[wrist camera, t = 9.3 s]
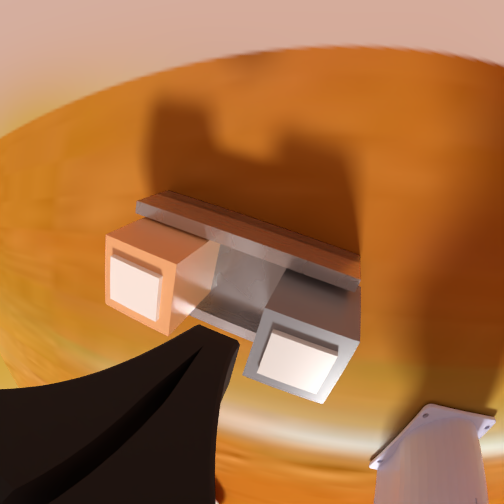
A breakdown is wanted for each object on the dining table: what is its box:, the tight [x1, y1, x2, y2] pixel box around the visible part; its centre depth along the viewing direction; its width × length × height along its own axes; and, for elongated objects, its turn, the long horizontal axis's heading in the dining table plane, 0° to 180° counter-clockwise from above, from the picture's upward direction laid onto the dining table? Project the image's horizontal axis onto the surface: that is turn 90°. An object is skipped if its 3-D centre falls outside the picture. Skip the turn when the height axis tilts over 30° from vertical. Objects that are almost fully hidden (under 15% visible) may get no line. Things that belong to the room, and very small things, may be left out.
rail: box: [136, 191, 361, 342], centre depth 17 cm, size 6×12×3 cm, turn 76°
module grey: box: [243, 268, 361, 404], centre depth 15 cm, size 4×4×5 cm
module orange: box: [105, 217, 220, 336], centre depth 16 cm, size 4×4×5 cm
